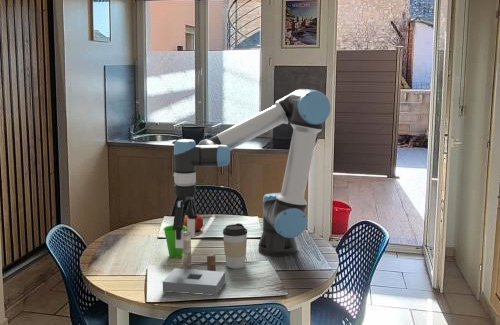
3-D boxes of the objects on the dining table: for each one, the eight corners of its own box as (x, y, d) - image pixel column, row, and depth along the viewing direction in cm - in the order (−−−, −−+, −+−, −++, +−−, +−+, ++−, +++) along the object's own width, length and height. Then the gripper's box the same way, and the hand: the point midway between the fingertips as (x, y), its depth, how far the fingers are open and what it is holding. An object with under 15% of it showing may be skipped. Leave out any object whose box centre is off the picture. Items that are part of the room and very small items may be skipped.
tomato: (179, 233, 239) (179, 215, 238) (185, 227, 248) (185, 210, 247) (200, 234, 238) (199, 216, 236) (205, 228, 247) (204, 211, 245)
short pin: (216, 270, 196) (216, 254, 195) (214, 273, 193) (214, 257, 192) (208, 269, 196) (208, 253, 195) (206, 272, 194) (205, 256, 192)
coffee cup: (238, 271, 195) (238, 230, 192) (218, 266, 200) (217, 227, 197) (252, 263, 203) (252, 224, 200) (232, 259, 207) (231, 221, 205)
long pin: (192, 268, 198) (191, 231, 195) (190, 271, 195) (189, 234, 192) (184, 268, 198) (183, 231, 196) (182, 271, 195) (181, 233, 193)
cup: (183, 260, 206) (182, 232, 204) (160, 258, 208) (159, 230, 206) (190, 252, 215) (190, 225, 213) (168, 250, 217) (168, 224, 215)
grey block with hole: (225, 281, 186) (225, 271, 185) (216, 295, 174) (216, 285, 173) (174, 277, 189) (174, 268, 188) (162, 291, 177) (162, 281, 177)
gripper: (185, 176, 204) (186, 231, 207) (162, 190, 179) (163, 252, 183) (204, 177, 202) (205, 232, 206) (184, 192, 178) (184, 254, 182)
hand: (185, 241), depth 194 cm, fingers open, 13 cm apart
